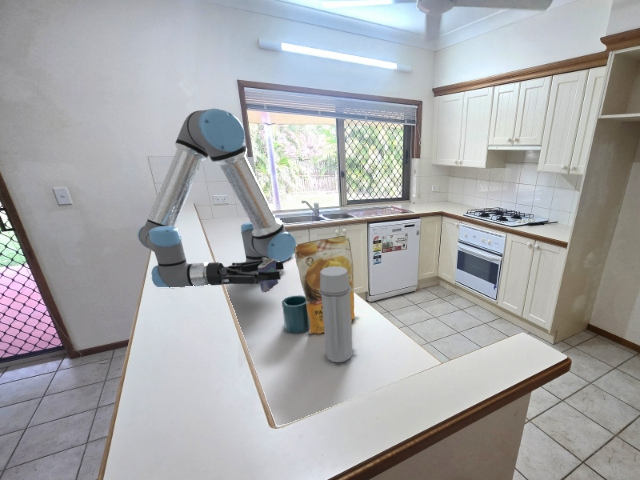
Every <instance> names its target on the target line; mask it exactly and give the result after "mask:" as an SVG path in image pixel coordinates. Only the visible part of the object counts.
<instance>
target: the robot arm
mask: <svg viewBox="0 0 640 480" xmlns="http://www.w3.org/2000/svg"><path fill="white" fill-rule="evenodd" d="M245 139H246V132H245V128H244V126H243V124H242V122H241V121H240V120H239V118H238V117H236V116H235V115H234V114H232V113H231V112H229V111H227V110H224V109H219V108H209V109H204V110H200V109H199V110H195V111H193V112H191V113H190V114H189V115H187V116H186V117H185V119H184V121H183V124H182V126H181V128H180V130H179V132H178V135H177V138H176V140H175V142H174V146H175V147H176V151H175V152H174V156H173V157H172V159H171V163H170V165H169V167H168V170H167V172H166V174H165V176H164V179H163V182H162V184H161V187H160V188H159V191H158V194H157V196H156V198H155V201H154V204H153V205H152V208H151V210H150V213H149V215H148V218H147V220H146V222H145V224H144V225H143V226H141V227H140V228H139V229H138V230H137V234H136V235H137V239H138V241H139V242H140V243H141V245H142V246H144V247H145V248H147V249H149V250H150V251H152V252H153V253H154V255H155V258H156V262H157V265H154V266H153V267H152V269H151V273H150V274H151V281H152V283H153V285H154V286H155V287H157V288H158V287H169V288H168V289H171V288H170V287H180V288H186V287H185V286H193V285H194V286H195V287H201V286H204V285H208V284H210V285H208V286H223V285H258V284H259V285H260V281H264V280H278V281H280V280H281V275H282V273H283V271H282V270H284V267H285V266H284V262H286V261H288V260H291V258H292V256H293V255H294V254H295V252H294V248H295V247H296V246H297V240H296V238H295V236H294V235H293V234H292V233H290V232H289V231H287V230H286V228H285V226H284V224H283V222H282V220H280V219H278V218H276V217H275V214H274V213H273V210H272V208H271V206H270V204H269V203H268V200H267V198H266V196H265V194H264V192H263V190H262V187H261V186H260V184H259V182H258V181H259V180H257V177H256V176H255V173H254V170H253V169H252V167H251V165H250V163H249V161H248V159H247V157H246V154H247V152H248V148H247V145H246V144H245ZM208 158H209V159H210V160H211V162H213V163H215V164H217V165H218V166H219V167H220V168H221V170H222V172H223V174H224V176H225V177H226V180H227V181H228V183H229V185H230V187H231V188H232V191H233V193H234V194H235V197H236V198H237V200H238V202H239V203H240V205H241V207H242V209H243V211H244V213H245V215H246V217H247V218H248V221H249V222H244V223H242V224H241V225H240V234H241V238H242V242H243V249H244V256H245V261H244V262H232V263H231V265H228V266H224V264H223V263H222V262H220V261H217V262H197V263H195V262H193V263H188V262H187V258H186V253H185V249H184V246H183V242H182V236H181V235H180V231H179V229H178V228H177V227H176V225H177V222H178V220H179V217H180V215H181V213H182V210H183V209H184V205H185V203H186V201H187V199H188V197H189V194H190V191H191V189H192V187H193V184H194V182H195V179H196V177H197V175H198V173H199V170H200V167H201V165H202V163H203V162H204V161H207V160H208ZM263 257H266V258H268V259H275V261H276V270H277V271H271V272H258V266H259V265H260V264H262V263H263V259H264V258H263ZM262 258H263V259H262ZM268 259H267V260H268ZM204 287H205V286H204Z"/></svg>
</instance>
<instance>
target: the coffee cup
mask: <svg viewBox="0 0 640 480" xmlns="http://www.w3.org/2000/svg"><path fill="white" fill-rule="evenodd" d="M281 305H282V306H281V308H282V315H283V322H284V329H285V331H286V332H288V333H292V334H299V333H304V332H306V331H309V329H310V319H309V314H308V311H307V305H306V298H305V295H291V296H288V297H285V298H284V299H283V300H282V301H281Z"/></svg>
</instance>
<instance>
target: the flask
mask: <svg viewBox="0 0 640 480" xmlns="http://www.w3.org/2000/svg"><path fill="white" fill-rule="evenodd" d="M263 258H264V259H263ZM263 258H262V259H263V263H262V264H260V265H259V266H258V272H271V271H277V270H276V261H275V259H268V258H266V257H263ZM267 259H268V260H267ZM278 284H279V280H264V281H259V286H260V291H261V293H267V292H270V291H271V290H272V289H274V287H275V286H277V285H278Z"/></svg>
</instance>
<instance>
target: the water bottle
mask: <svg viewBox="0 0 640 480" xmlns="http://www.w3.org/2000/svg"><path fill="white" fill-rule="evenodd" d="M321 291H322V292H321ZM319 292H320V294H321V295H322V307H323V320H324V333H323V334H324V342H325V355H326V359H328V361H330V362H332V363H343V362H346V361H347V360H349V359H351V357H352V355H353V354H354V352H353V331H352V329H353V328H352V323H351V301H350V292H351V286H350V285H349V278H348V271H347V269H346V268H343V267H336V266H334V267H327V268H324V269H322V270H321V271H320V289H319Z"/></svg>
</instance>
